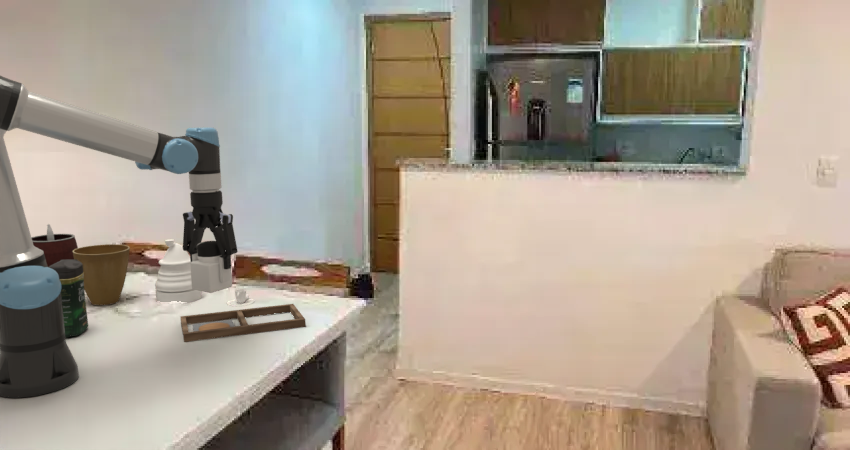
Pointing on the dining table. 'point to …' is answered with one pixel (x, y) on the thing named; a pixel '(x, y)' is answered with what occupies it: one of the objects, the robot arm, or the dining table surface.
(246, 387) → the dining table surface
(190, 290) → the honey pot
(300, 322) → the walnut rack
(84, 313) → the coffee jar
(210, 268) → the medicine bottle
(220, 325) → the card
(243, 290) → the teacup and saucer
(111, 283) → the plant pot
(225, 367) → the dining table surface
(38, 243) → the mate gourd
